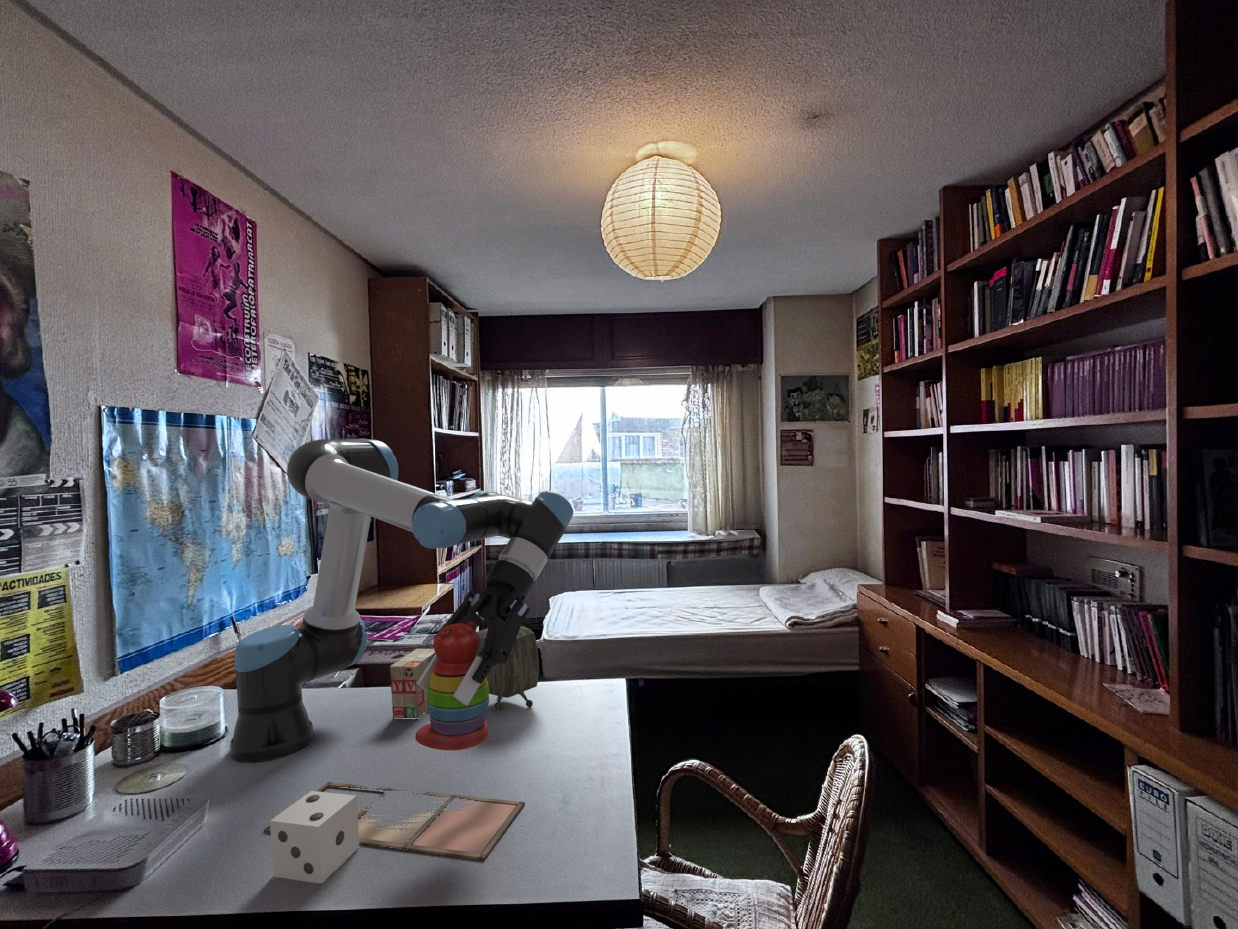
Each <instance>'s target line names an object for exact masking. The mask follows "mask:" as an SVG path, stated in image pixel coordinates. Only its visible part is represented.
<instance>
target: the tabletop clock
mask: <svg viewBox="0 0 1238 929" xmlns="http://www.w3.org/2000/svg"><path fill="white" fill-rule="evenodd" d="M487 631H488V628H485V629H481V630H478V631H476V632H477V633H478V636H479V649H478V652H477V654H476V656H475V658H476V657H477V656H478V657H481V658H482V659H483V657H482V656H480V655H479V652H482V651H483V649H484V644H485V640H486V636H487ZM538 650H539V648H538V643H537V638H536V634H535V632H534V631H533V630H531V629H530V628H528V627H525V626H522V625H521V627H520V630H519V632H518V635H517V637H516V640H515V642H514V645H513V648H512V650H511V653H510V655H509V658H508V660H507V662H506V663H505V664H502V663H501V662H500V663H497V664H496V665H494V666H492V668H491V670H490V671H489V673H488V675H487V682H488V686H489V695H493V696H497V701H496V702H495V704H494V708H495V709H496V710H501V708H502V707H503V703H502V702H501V699H502V698H504V699H505V698H506V699H509V698H511V697H514V696H517V695H519V696H521V697H522V699H523V700H524V701H525V705H526V707H527V708H532V707H533V704H534V702H533V700H531V699H529V698H528V697H527V696H526V694H525V692H526V691H529V690H531V689H534V688H536V687H537V686H538V683H539V674H540V669H539V666H540V665H539V664H540V662H539V652H538ZM501 652H503V651H502V650H501Z"/></svg>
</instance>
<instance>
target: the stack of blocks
mask: <svg viewBox="0 0 1238 929" xmlns="http://www.w3.org/2000/svg"><path fill="white" fill-rule="evenodd" d="M434 653H435V651H434V648H416V649H414V650H413V651H410V653H408V654H407V655H405V656H404V657H402V658H401V659H399V660H397V661H396V662H394V663H393V664H391V665H390V666H389V667H390V668H389V670H390V690H391V703H392V719H393V718H420V716H422V715H423V713H425V712H426V711H428V707H427V691H426V690H425V689H423V688H422V687H421V686H419V685H418V684H416V683H417V681H418V680H419V678H420V677H421V675H422V674H423V672H424V671H425V669H426V667H427V666H428V663H429V661H430V659H431V658H432V656H433V655H434ZM423 716H424V715H423ZM423 716H422V717H423ZM420 719H421V718H420Z"/></svg>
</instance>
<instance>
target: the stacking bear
mask: <svg viewBox="0 0 1238 929" xmlns="http://www.w3.org/2000/svg"><path fill="white" fill-rule="evenodd" d="M477 628H478V627H477V626H476V624H475V623H474V622H472V621H470V622H468V623H467V624H462V623H457V624H451V625H448V626H446V627H444V628H443V629H442V630H441V631H440V630H439V631H440V632H439V631H438V632H439V633H438V632H437V633H438V635H437V636H436V638H435V640H434V639H433V643H432V646H433V649H434V651H435V653H436V655H437V657H438V658H439V661H438V662H437V663H436V664H435V666H434V668H433V672H432V674H431V678H430V684H429V687H428V692H427V707H428V712H427V713H428V715H429V716H428V717H429V721H430V723H427V724H425V725H422V726H420V727H419V728H418V730H417V731H416V732H415V736H414V740H415V741H416V742H417V743H418V744H420V745H422V746H423V747H427V748H430V749H432V750H438V751H439V750H440V751H449V752H450V751H451V752H453V751H462V750H468V749H471V748H475V747H476V746H479V745H481V744H482V743H483V742H485V741H486V740H487V739H488V737H489V734H490V728H489V724H488V722H487V720H486V717H487V712H488V709H489V704H490V694H489V686H488V682H487V677H486V678H485V680H484V682H483V683H482V684H480V685H479V687H478V689H477V690H476V692H475V694H474V696H473V697H472V699H471V701H470V702H469V704H468V706H467V705H464V704H463V703H461V702H460V701H459V700H457V699H456V698H455V697H453V695H454V694H455V692H456V690H457V688H458V687H459V685H460V683H461V682H462V680H463V678H464V677H465V675H466V673H467V672H468V670H469V668H470V667H471V665H472V663H473V662H474V660H475V656H476V654H477V652H478V649H479V636H478V633H477V632H478V631H477Z"/></svg>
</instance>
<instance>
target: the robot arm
mask: <svg viewBox="0 0 1238 929" xmlns="http://www.w3.org/2000/svg"><path fill="white" fill-rule="evenodd" d="M286 468H287V469H286V474H287V475H286V476H287V480H288V482H289V484H290V486H291V487H292V488H293V489H294V490H295V491H296V492H297V493H298V494H299V495H301V496H303V497H305V498H307V499H309V500H312V501H314V502H317V503H321V504H328V505H329V509H328V515H327V520H326V525H325V526H326V527H325V534H324V539H323V545H322V551H321V556H320V562H319V568H318V574H317V581H316V587H315V593H314V598H313V603H312V604H313V605H312V606H311V607H310V608H308V609H306V611H305V612H304V614H303V619H302V625H301V627H299V628H298V627H297V626H296V625H293V624H281V625H275V626H273V627H267V628H262V629H259V630H258V631H255V632H252V633H250V634H249V635H247V636H245V637H243V638H242V639H241V640H240V641H239V642H238V644H237V645H236V647H235V650H234V664H233V666H234V669H235V679H236V681H235V682H236V698H237V712H238V714H237V719H236V721H235V722H236V723H235V726H234V729H233V736H232V738H231V739H230V743H229V750H230V751H229V753H230V758H231V759H232V760H233V761H236V762H241V763H260V762H265V761H270V760H275V759H279V758H282V757H286V756H288V755H291V754H293V753H296V752H297V751H299V750H302V749H303V748H305V747H306V746H308V745H309V744H310V743H311V742H312V741H313V739H314V724H313V723H312V721H311V720H310V717H309V715H308V712H307V709H306V707H305V704H304V702H303V688H302V686H303V685H304V684H306V683H309V682H312V681H315V680H318V679H320V678H322V677H326V676H328V675H330V674H331V675H332V674H333V673H338V672H341V671H344V670H345V669H347V668H348V667H350V666H353V665H354V664H356V663H357V662H359V661H360V660H361V658H362V657H363V656H364V653H365V652H366V649H367V646H368V632H366V631H365V630H366V629H367V627H366V624H365V622H364V620H362V618H361V615H360V613H359V612H358V611H357V610H356V603H357V596H358V591H359V587H360V582H361V581H360V580H361V575H362V569H363V563H364V558H365V553H366V547H367V542H368V536H369V530H370V525H371V519H372V518H375V519H377V520H380V521H382V522H385V523H388V524H390V525H393V526H396V527H398V528H401V529H403V530H406V531H408V532H412V533H413V536H414V539H416V540H417V541H418V542H419V544H420V546H422V547H423V548H426V549H432V550H434V549H448V548H451V547H454V546H458V545H461V544H466V543H470V542H475V541H481V540H485V539H490V538H494V537H500V538H501V537H502V538H506V539H508V540H509V541H508V542H507V543H506V544H505V547H504V548H503V549H502V551H501V552H500V554H499V555H498V560H497V561H495V562H494V564H493V565H492V567H491V569H490V571H489V572H488V573H487V575H486V578H485V580H486V587H485V588H484V589H483V590H482V591H481V592H480V593H475V592H474V591H473V590H470V591H468V592H467V594H466V595H465V597H464V599H463V601H462V602H461V603H460V605H459V606H458V607H457V609H455V611H454V612H453V614H452V615H451V616H450V617H449V619H448V620H446V622H445V623H444V624H443V626H442V627H441V628H440V629H439V631H437V633H436V634H435V635H434V637H433V641H434V640H435V638H436V636H437V635H438V633H439V632H440V631H441V630H442V629H443V628H444V627H446V626H448V625H451V624H457V623H462V624H467V623H468V622H470V621H472V622H474V623H475V624H476V626H477V628H478V627H479V626H483V625H485V624H486V623H487V622H489V623H488V627H487V629H488V631H487V636H486V640H485V644H484V649H483V651H482V652H479V655H480V656H482V657H483V659H482V658H481V657H478V656H477V657H476V658H475V660H474V662H473V663H472V665H471V667H470V668H469V670H468V672H467V673H466V675H465V677H464V678H463V680H462V682H461V683H460V685H459V687H458V688H457V690H456V692H455V694H454V695H453V697H455V698H456V699H457V700H459V701H460V702H461V703H463V704H464V705H467V706H468V704H469V702H470V701H471V699H472V697H473V696H474V694H475V692H476V690H477V689H478V687H479V685H480V684H482V683H483V682H484V680H485V678H486V677H487V675H488V673H489V671H490V670H491V668H492V666H494V665H496V664H497V663H500V662H501V663H502V664H505V663H506V662H507V660H508V658H509V655H510V653H511V650H512V648H513V645H514V642H515V640H516V637H517V635H518V632H519V630H520V627H521V626H522V624H523V621H524V620H525V618H526V617H527V615H528V614H529V612H530V611H531V608H530V607H529V605H527V604H526V603H525V602H524V601H525V600H526V599H527V597H528V596H529V594H530V592H531V590H532V588H533V587H534V585H535V582H534V581H536V580H537V579H538V577H539V576H540V574H541V573H542V571H543V569H544V567H545V566H546V564H547V562H548V560H549V559H550V556H551V554H552V553H553V552H554V549H555V548H556V546H557V545H558V544H559V542H560V540H561V539H562V537H563V536H564V534H565V533H566V532H567V529H568V526H569V524H570V522H571V520H572V518H573V515H574V508H573V507H572V505H571V502H570V501H569V500H568V499H566V497H564V496H563V495H561V494H559V493H557V492H555V491H551V490H544V491H541V492H539V493H538V495H537V496H535V498H534V499H533V500H528V499H527V500H526V499H522V498H518V497H513V496H509V495H505V494H502V493H499V492H497V491H488V490H487V491H486V490H478V491H476V492H475V493H474V494H473V495H471V496H470V497H469V498H468V497H467V498H459V499H454V498H453V499H452V498H449V497H446V496H443V495H439V494H437V493H434V492H431V491H428V490H426V489H422V488H420V487H417V486H414V485H411V484H409V483H405V482H401V481H399V480H398V477H399V465H398V461H397V458H396V456H395V455H394V452H393V450H392V449H391V448H390V446H388V445H387V444H386V443H384V442H383V441H380V440H377V439H367V438H363V437H362V438H346V439H344V438H343V439H342V438H339V439H314V440H311V441H308V442H307V441H306V442H305V443H304V444H302V445H300V446H299V447H297V449H296V450H294V451H293V452H292V454H291V456H290V457H289V459H288V462H287V466H286ZM501 650H502V651H503V652H501ZM438 661H439V658H438V657H437V655H436V653H434V655H433V656H432V658H431V659H430V661H429V663H428V666H427V667H426V669H425V671H424V672H423V674H422V675H421V677H420V678H419V680H418V681H417V683H416V684H418V685H419V686H421V687H422V688H423V689H425V690H426V691H427V692H428V687H429V684H430V678H431V674H432V672H433V668H434V666H435V664H436V663H437V662H438Z"/></svg>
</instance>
